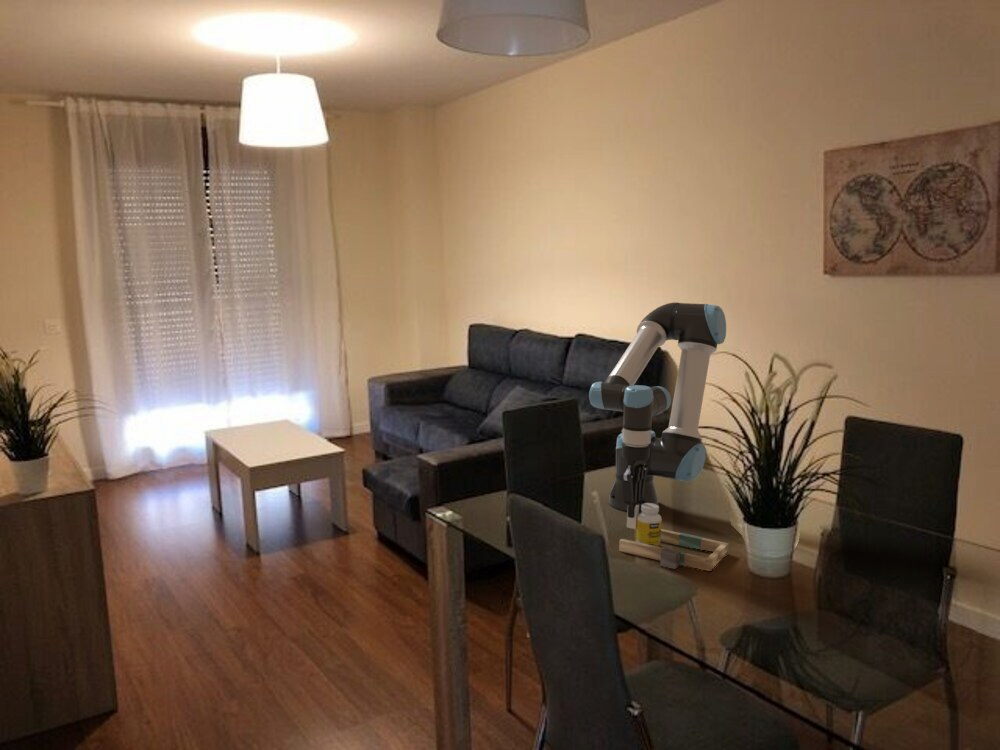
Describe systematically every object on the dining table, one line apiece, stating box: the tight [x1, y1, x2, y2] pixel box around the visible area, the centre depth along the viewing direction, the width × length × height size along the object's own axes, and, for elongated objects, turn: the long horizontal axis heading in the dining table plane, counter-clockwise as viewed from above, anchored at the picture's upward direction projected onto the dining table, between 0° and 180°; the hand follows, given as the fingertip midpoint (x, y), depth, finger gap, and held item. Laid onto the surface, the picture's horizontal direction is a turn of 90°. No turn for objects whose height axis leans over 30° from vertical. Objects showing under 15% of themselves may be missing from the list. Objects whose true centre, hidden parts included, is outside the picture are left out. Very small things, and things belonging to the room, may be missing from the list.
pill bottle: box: [635, 503, 663, 547], centre depth 220 cm, size 6×6×12 cm
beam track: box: [618, 528, 729, 570], centre depth 216 cm, size 18×25×4 cm
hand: (632, 527), depth 223 cm, fingers closed
